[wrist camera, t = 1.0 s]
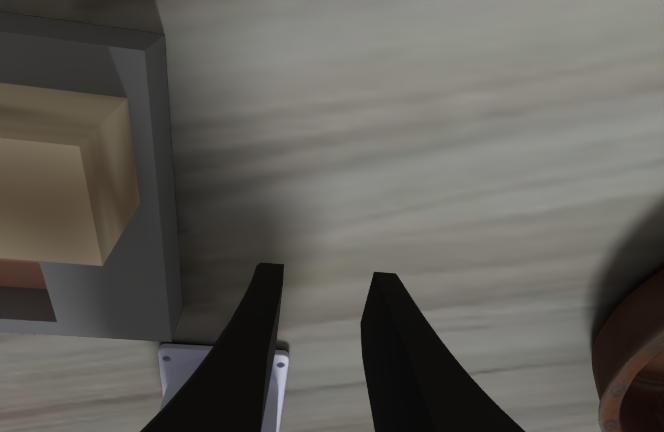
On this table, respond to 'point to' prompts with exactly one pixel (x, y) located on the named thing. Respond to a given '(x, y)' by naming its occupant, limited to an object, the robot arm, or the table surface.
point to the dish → (632, 362)
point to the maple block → (64, 174)
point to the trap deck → (152, 175)
